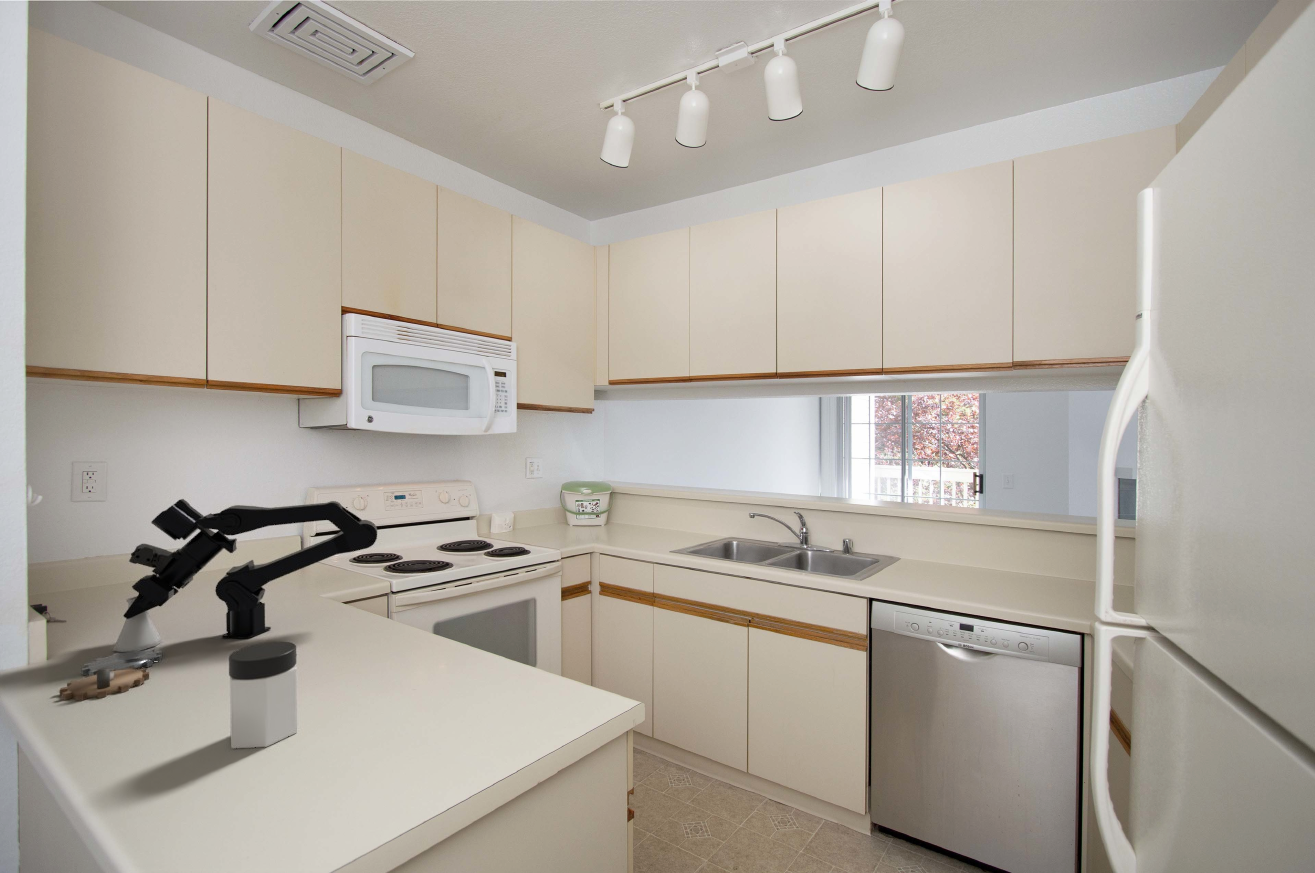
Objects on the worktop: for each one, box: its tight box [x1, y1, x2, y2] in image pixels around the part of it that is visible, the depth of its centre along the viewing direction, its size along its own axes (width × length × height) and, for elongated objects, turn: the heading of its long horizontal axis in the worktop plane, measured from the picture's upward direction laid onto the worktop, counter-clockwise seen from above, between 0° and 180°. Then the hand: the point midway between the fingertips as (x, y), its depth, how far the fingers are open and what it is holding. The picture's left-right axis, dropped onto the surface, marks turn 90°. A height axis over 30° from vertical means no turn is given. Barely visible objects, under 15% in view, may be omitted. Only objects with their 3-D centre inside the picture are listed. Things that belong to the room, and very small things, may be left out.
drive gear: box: [59, 667, 150, 702], centre depth 105 cm, size 11×11×4 cm
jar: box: [228, 640, 299, 750], centre depth 88 cm, size 9×8×12 cm
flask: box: [112, 595, 163, 653], centre depth 125 cm, size 7×7×10 cm
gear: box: [81, 648, 163, 677], centre depth 115 cm, size 11×11×1 cm
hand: (128, 614), depth 124 cm, fingers open, 3 cm apart
